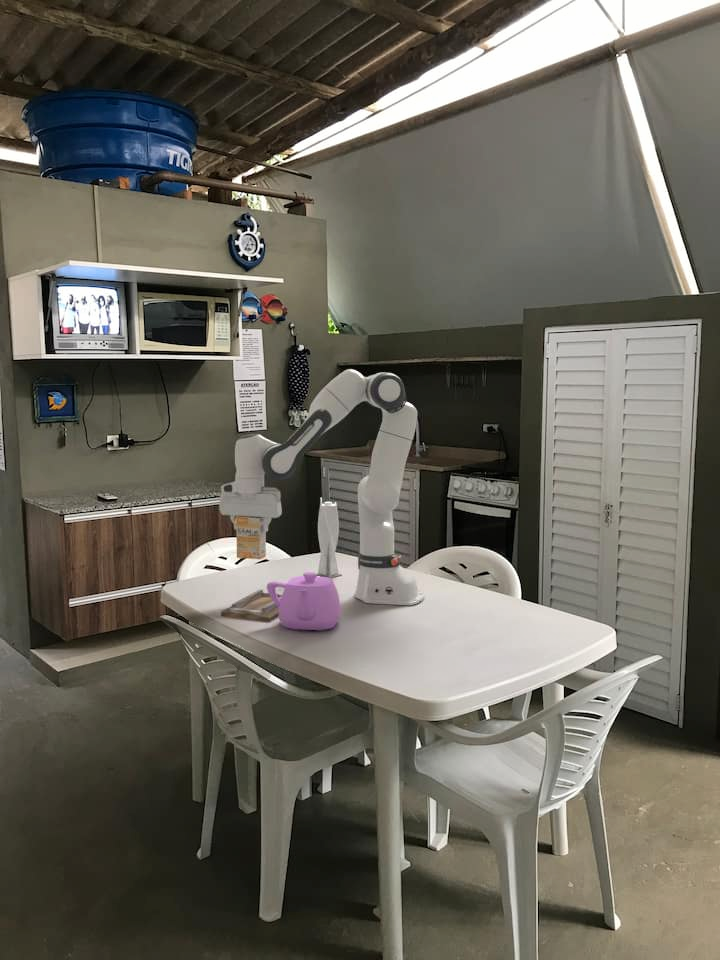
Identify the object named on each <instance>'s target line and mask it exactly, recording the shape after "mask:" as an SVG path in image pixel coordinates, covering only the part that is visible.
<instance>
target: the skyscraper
mask: <svg viewBox="0 0 720 960" xmlns="http://www.w3.org/2000/svg"><path fill="white" fill-rule="evenodd" d="M319 499H320V503H319V510H318V519H317V520H318V521H317V535H318V536H317V537H318V542H319V545H318V546H319V549H320V557H319V564H318V570H317V573H316V574H317V575H316V577H317V576H320V577H327V578H331V579H335V578H338V576H339V577H342V576H343V575H342V574H341V573H339V568H338V563H337V561H338V560H337V557H336V556H337V555H336V549H337V546H338V545H337V544H338V541H339V540H338V539H339V532H340V521H339V513H338V504H337V502H336V501H334V503H333V502H332V501H324V503H323V498H322V497H320V498H319ZM334 577H335V578H334Z"/></svg>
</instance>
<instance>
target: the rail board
mask: <svg viewBox="0 0 720 960" xmlns="http://www.w3.org/2000/svg"><path fill="white" fill-rule="evenodd" d="M276 594H277V596H278V598H279V600H280V601H281V597H282V594H283V593H280V592H279V593H278V592H276ZM220 616H222V617H229V618H235V619H236V618H237V619H244V620H253V621H261V622H269V623H272V621H274V620H275V619H277V618H279V607H278V606H277V604H276V603H275V602H274V601H273V599H272V598H271V596H270V595H269V593H268V591H267V592H266V591H264V590H263V589H257V590H256V591H254V592H252V593H250V594H249V595H247V596H244V597H243V598H241V599H239V600H237V601H236V602H234V603H232V604H231V605H230V606H229V607H227V608H225V609H223V610H222V611H220Z"/></svg>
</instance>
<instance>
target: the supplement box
mask: <svg viewBox="0 0 720 960" xmlns="http://www.w3.org/2000/svg"><path fill="white" fill-rule="evenodd" d="M265 522H266V521H264V517H251V516H238V517H236V532H235V533H236V558H237V559H252V560H263V559H264V558H265V557H267V556H266V555H267V546H266V545H267V542H266V541H267V539H266V537H267V536H266V535H267V533H266V532H263V531H261V529H262V528H261V526H263V525H264V524H265Z"/></svg>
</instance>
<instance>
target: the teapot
mask: <svg viewBox="0 0 720 960" xmlns="http://www.w3.org/2000/svg"><path fill="white" fill-rule="evenodd" d="M317 574H318V573H316V572H314V571H308V572H307V571H306V572H303V576H293V577H290V579H289V580H288V581H287V582H286V583H285V582H281V581H269V582H268V583H267V585H266V590H267V592H268V593H269V595H270V596H271V598H272V599H273V601H274V602H275V603H276V604H277V606H278V607H279V616H278V620H279V622H280V624H281V625H282V626H283V627H284V628H286V629H291V630H294V631H297V630H298V631H299V630H303V631H304V630H305V631H308V630H309V631H310V630H311V631H312V630H314V631H317V632H319V631H320V632H321V631H325V630H329V629H333V628H334V627H335V626H336V625H337V622H338V621H339V619H340V617H341V614H342V613H341V612H342V611H341V609H342V607H341V601H340V596H339V593H338V589H337V587H336V584H335V583H334V580H333V578H327V577H317V576H316V575H317ZM278 587H279V588H284V590H283V592H282V593H281V594H282V597H281V601H280V600H279V598H278V596H277V594H276V593H277V591H276V588H278Z"/></svg>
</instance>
